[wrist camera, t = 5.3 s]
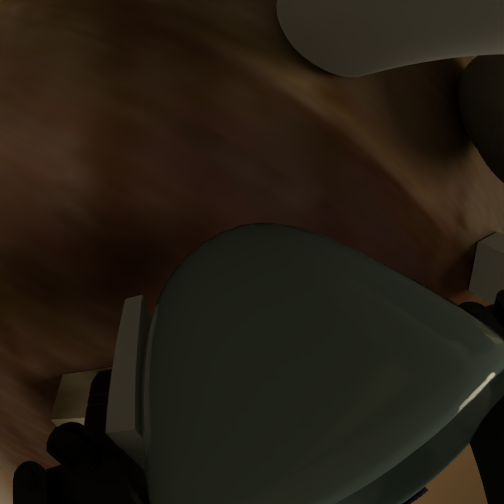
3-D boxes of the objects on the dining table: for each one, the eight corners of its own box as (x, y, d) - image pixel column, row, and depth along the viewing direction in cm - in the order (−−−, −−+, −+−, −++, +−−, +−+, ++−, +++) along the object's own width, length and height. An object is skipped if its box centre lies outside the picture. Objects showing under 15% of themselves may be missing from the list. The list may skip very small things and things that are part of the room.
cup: (112, 300, 10) (81, 558, 1) (248, 163, 10) (551, 222, 1) (234, 385, 14) (311, 552, 5) (344, 285, 14) (500, 408, 5)
